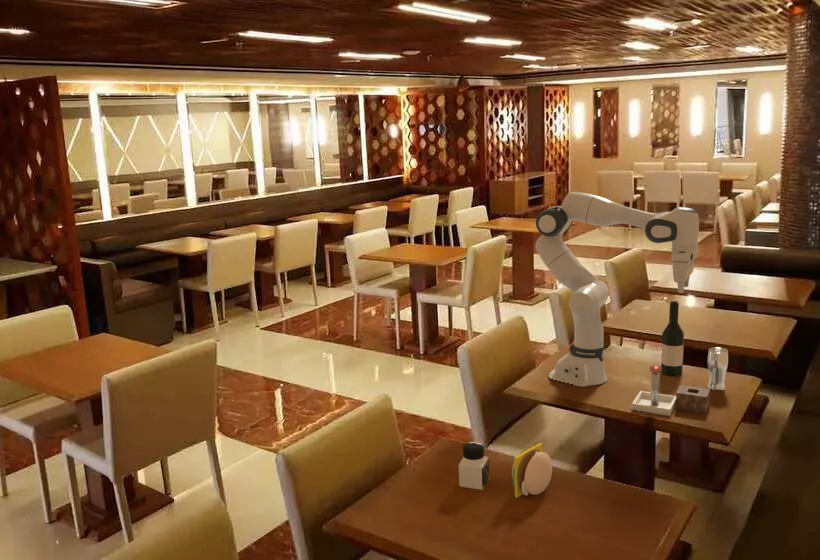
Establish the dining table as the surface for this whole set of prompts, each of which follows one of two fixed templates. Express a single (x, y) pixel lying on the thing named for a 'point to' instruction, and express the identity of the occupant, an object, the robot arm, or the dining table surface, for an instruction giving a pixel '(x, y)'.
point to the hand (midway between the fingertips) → (683, 289)
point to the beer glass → (717, 367)
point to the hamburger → (531, 471)
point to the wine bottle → (672, 344)
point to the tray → (644, 405)
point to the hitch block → (692, 399)
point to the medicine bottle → (473, 467)
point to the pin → (655, 384)
